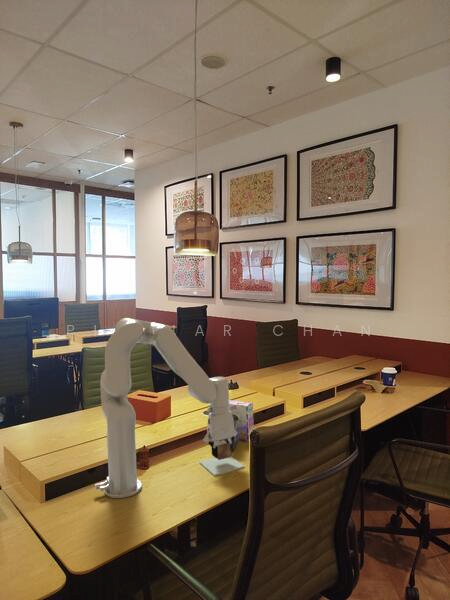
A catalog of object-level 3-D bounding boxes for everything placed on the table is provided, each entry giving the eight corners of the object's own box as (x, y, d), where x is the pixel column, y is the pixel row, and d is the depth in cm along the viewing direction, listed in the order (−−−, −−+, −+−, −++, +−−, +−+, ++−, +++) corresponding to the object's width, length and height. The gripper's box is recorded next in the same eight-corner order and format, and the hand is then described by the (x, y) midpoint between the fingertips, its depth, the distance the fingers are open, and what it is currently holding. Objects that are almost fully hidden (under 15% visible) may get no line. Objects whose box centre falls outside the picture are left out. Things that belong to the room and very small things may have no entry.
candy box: (254, 438, 186) (253, 402, 185) (248, 442, 181) (247, 406, 180) (228, 432, 193) (227, 398, 193) (222, 437, 188) (221, 402, 188)
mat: (214, 476, 150) (214, 474, 150) (199, 463, 162) (199, 461, 162) (244, 467, 157) (244, 466, 156) (227, 455, 168) (227, 454, 168)
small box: (233, 452, 171) (233, 428, 170) (218, 451, 172) (217, 427, 172) (238, 442, 181) (237, 419, 181) (223, 442, 182) (223, 419, 182)
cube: (218, 460, 156) (218, 447, 155) (213, 455, 160) (212, 443, 160) (230, 457, 158) (229, 444, 158) (224, 452, 162) (223, 440, 162)
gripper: (204, 416, 151) (206, 464, 152) (243, 407, 159) (245, 453, 160) (195, 410, 157) (197, 456, 158) (233, 402, 166) (235, 446, 166)
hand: (221, 454), depth 159 cm, fingers closed on cube, 5 cm apart
